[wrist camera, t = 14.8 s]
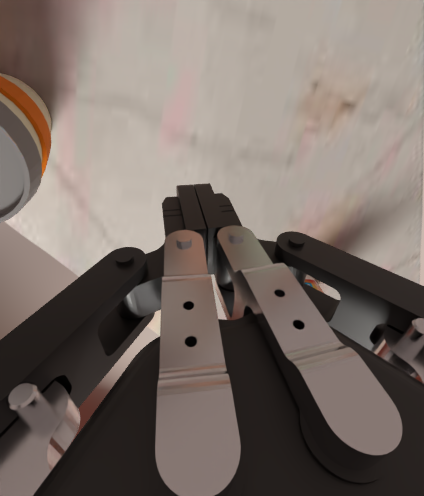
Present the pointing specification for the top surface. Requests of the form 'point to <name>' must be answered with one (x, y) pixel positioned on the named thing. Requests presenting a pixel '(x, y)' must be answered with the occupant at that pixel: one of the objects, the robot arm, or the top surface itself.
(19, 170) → the reusable coffee cup
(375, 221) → the top surface
